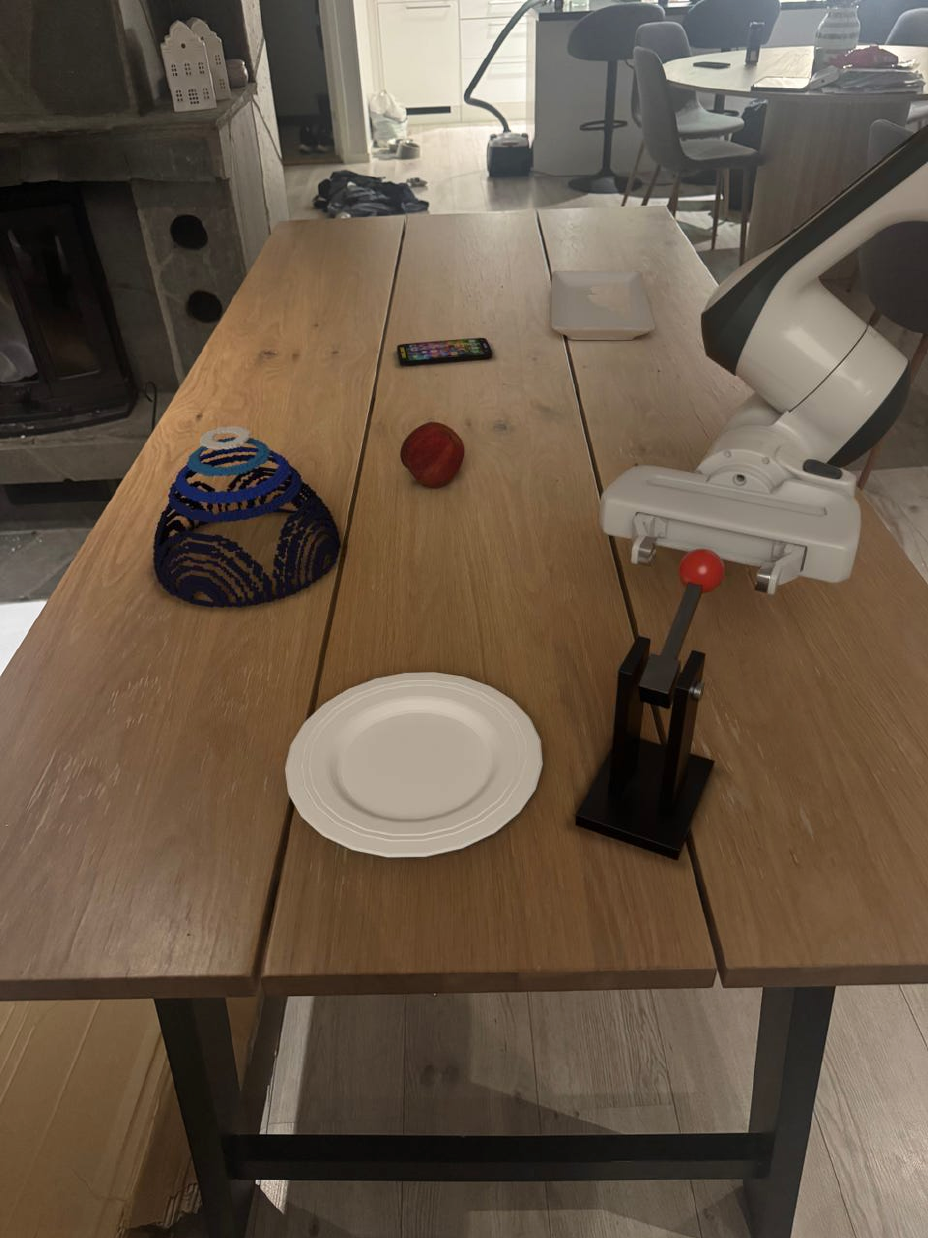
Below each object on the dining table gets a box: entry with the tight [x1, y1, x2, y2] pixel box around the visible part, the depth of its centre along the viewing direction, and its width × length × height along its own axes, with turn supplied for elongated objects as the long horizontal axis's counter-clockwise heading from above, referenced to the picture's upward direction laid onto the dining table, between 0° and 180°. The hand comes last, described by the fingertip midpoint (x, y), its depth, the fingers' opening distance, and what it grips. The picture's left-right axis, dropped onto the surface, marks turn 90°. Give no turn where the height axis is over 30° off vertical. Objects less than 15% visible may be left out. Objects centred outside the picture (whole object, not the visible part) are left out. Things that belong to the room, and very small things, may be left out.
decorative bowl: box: [152, 425, 342, 609], centre depth 99 cm, size 20×20×14 cm
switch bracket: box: [575, 635, 716, 862], centre depth 69 cm, size 10×8×14 cm
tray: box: [550, 270, 656, 341], centre depth 162 cm, size 17×32×4 cm, turn 175°
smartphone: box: [396, 337, 493, 366], centre depth 150 cm, size 8×1×15 cm
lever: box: [638, 548, 726, 710], centre depth 68 cm, size 13×3×3 cm, turn 153°
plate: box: [284, 671, 544, 860], centre depth 76 cm, size 21×21×2 cm
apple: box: [399, 421, 466, 488], centre depth 113 cm, size 7×8×8 cm
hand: (701, 571), depth 69 cm, fingers open, 8 cm apart
